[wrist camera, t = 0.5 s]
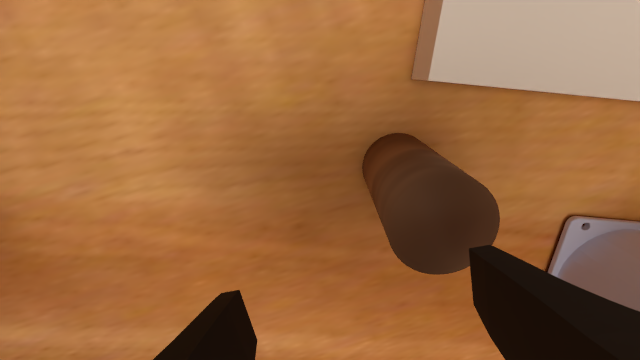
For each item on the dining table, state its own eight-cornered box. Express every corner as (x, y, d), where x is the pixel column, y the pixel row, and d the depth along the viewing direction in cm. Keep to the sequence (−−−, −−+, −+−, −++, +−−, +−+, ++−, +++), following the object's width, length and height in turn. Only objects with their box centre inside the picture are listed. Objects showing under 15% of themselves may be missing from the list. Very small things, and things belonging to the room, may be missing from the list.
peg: (435, 136, 19) (512, 180, 11) (422, 200, 20) (483, 278, 12) (367, 130, 19) (397, 169, 11) (358, 194, 20) (379, 269, 12)
